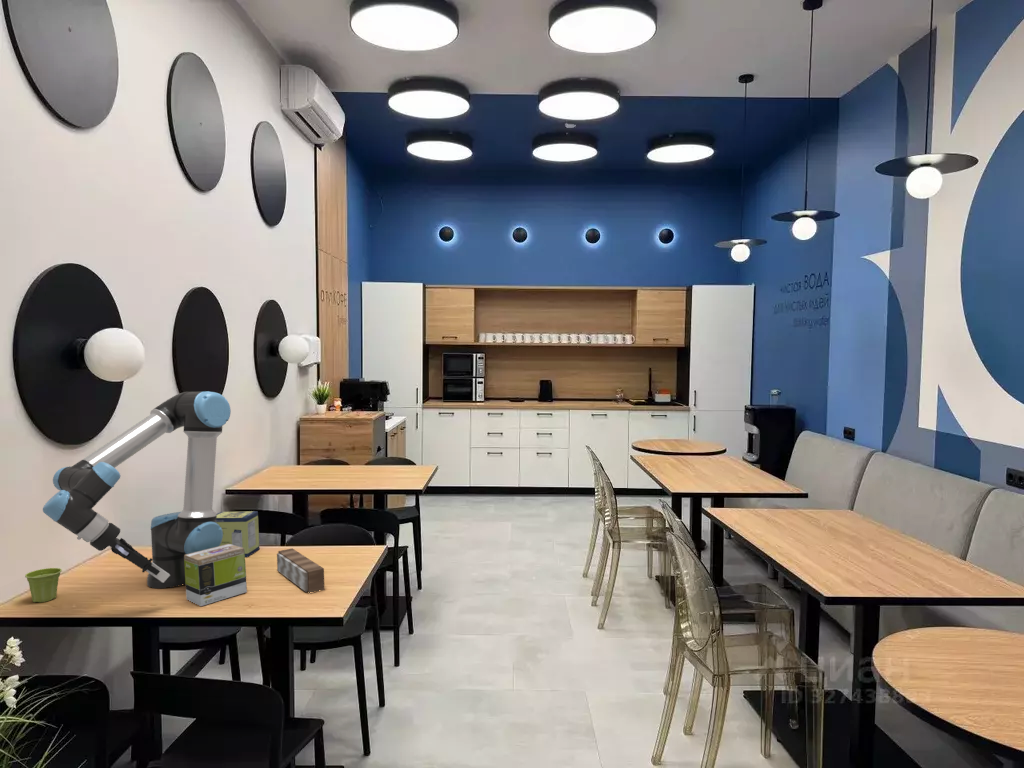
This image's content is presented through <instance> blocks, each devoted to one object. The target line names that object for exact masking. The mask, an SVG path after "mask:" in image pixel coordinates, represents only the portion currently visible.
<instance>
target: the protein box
mask: <svg viewBox="0 0 1024 768" xmlns="http://www.w3.org/2000/svg"><path fill="white" fill-rule="evenodd" d="M216 514H217V518H216V523H217V524H218V525H219V526H220V527H221V529H222V532H223V538H222V541H221V544H220V546H222V545H225V544H232V545H235V546H238V547H242V548H244V551H245V558H249V557H251V555H253V554H255V553H257V552H258V551H259V550H260V534H259V533H260V531H259V530H260V529H259V512H258V511H255V510H253V511H252V510H251V511H250V510H249V511H219V512H217V513H216Z"/></svg>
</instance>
